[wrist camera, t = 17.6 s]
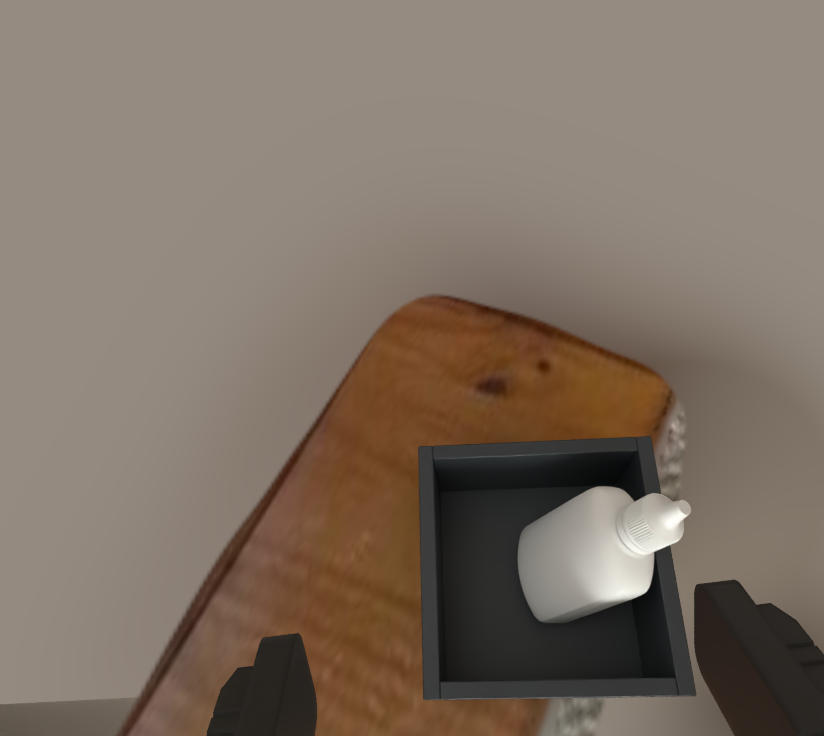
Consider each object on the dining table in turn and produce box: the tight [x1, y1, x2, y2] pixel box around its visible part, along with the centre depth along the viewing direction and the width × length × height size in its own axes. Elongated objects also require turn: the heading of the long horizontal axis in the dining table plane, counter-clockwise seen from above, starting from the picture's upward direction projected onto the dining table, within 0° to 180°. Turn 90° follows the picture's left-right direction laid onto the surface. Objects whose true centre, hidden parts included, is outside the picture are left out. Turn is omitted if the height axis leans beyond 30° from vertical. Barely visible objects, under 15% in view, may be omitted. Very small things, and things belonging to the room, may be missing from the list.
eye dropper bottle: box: [518, 486, 691, 623], centre depth 35 cm, size 4×6×12 cm
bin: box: [418, 436, 696, 700], centre depth 37 cm, size 13×13×8 cm
